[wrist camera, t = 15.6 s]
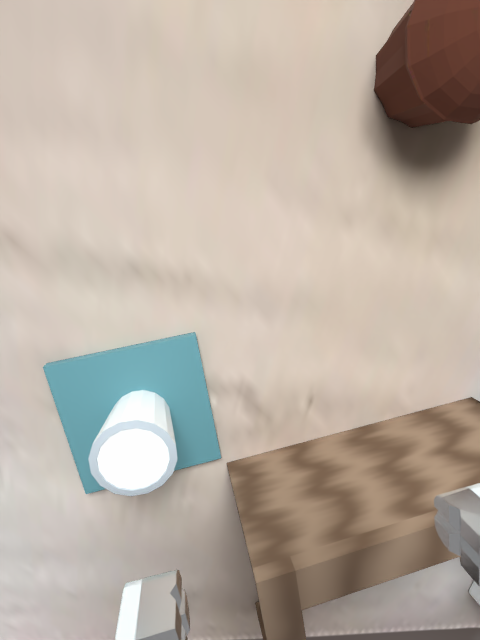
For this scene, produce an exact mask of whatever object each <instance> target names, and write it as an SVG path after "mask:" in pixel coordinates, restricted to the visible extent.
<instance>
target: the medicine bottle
mask: <svg viewBox="0 0 480 640" xmlns="http://www.w3.org/2000/svg"><path fill="white" fill-rule="evenodd" d="M469 593H470V595H471V596H472V597H473V598H474V600H475V601H476V602H477V603H478V604H479V606H480V586H478V585H477V583H476V582H475V581H473V583H472V585H471V587H470V589H469Z"/></svg>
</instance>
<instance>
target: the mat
mask: <svg viewBox="0 0 480 640" xmlns="http://www.w3.org/2000/svg"><path fill="white" fill-rule="evenodd" d="M43 369H44V372H45V375H46V378H47V380H48V383H49V386H50V389H51V392H52V395H53V398H54V401H55V404H56V407H57V410H58V413H59V416H60V419H61V422H62V425H63V428H64V431H65V434H66V437H67V440H68V443H69V446H70V449H71V452H72V454H73V457H74V460H75V463H76V466H77V469H78V472H79V475H80V478H81V481H82V484H83V487H84V490H85V493H86V494H88V493H92V492H96V491H100V490H103V489H105V488H103V487H102V486H100V485H99V483H98V482H97V481H96V479H95V478H94V477H93V475H92V474H91V470H90V465H89V460H88V458H89V455H90V451H91V448H92V444H93V442H94V440H95V439H96V437H97V435H98V433H99V432H100V430H101V428H102V426H103V425H104V423H105V421H106V419H107V418H108V416H109V414H110V412H111V411H112V409H113V407H114V405H115V404H116V403H117V402H118V401H119V399H120V398H121V397H122V396H124V395H126V394H128V393H130V392H132V391H140V390H146V391H150V392H155V393H156V394H158V395H159V396H161V397H162V398H164V400H165V401H166V403H167V405H168V406H169V409H170V414H171V420H172V426H173V432H174V437H175V443H176V450H177V462H176V465H175V468H174V471H175V470H179V469H182V468H186V467H190V466H194V465H198V464H201V463H205V462H209V461H213V460H216V459H220V458H221V455H220V450H219V445H218V440H217V435H216V430H215V426H214V421H213V416H212V411H211V406H210V401H209V397H208V392H207V387H206V382H205V377H204V372H203V367H202V363H201V358H200V353H199V348H198V343H197V338H196V334H195V332H193V333H188V334H184V335H179V336H174V337H169V338H165V339H160V340H155V341H150V342H146V343H141V344H136V345H131V346H127V347H122V348H117V349H112V350H108V351H103V352H98V353H93V354H89V355H84V356H79V357H74V358H70V359H65V360H60V361H56V362H51V363H47V364H46V365H45V366H44V367H43Z"/></svg>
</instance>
